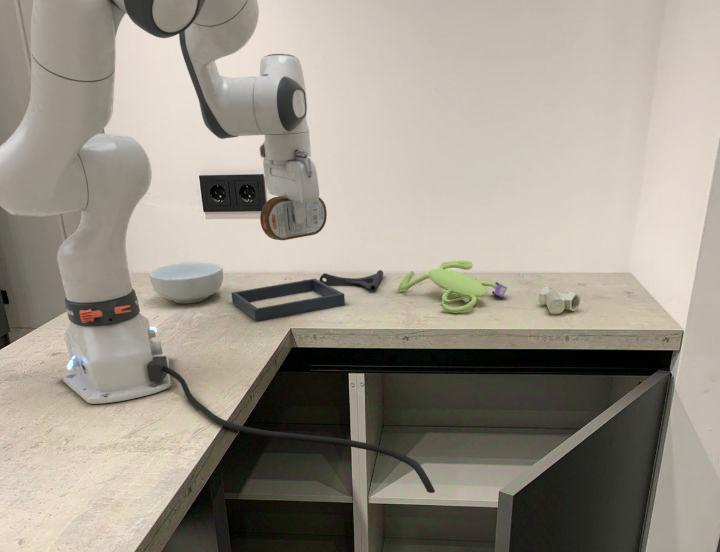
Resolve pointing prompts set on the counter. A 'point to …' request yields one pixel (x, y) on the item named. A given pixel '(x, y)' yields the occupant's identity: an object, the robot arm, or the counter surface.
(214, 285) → the cereal bowl
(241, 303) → the tray
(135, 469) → the counter surface
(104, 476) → the counter surface
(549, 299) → the pipe fitting
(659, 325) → the counter surface
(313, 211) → the tin
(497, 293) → the figurine
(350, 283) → the bracket
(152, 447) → the counter surface
